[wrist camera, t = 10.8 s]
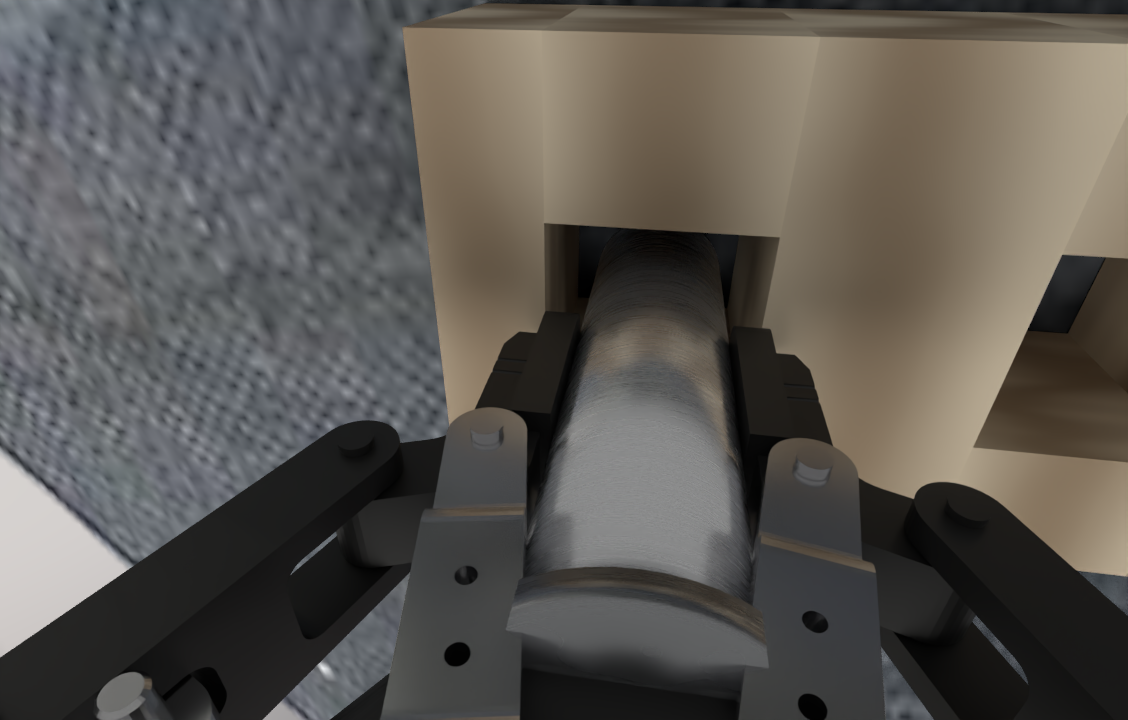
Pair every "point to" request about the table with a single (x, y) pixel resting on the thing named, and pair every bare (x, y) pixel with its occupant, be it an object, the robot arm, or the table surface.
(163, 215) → the table surface
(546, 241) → the hole block
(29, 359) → the table surface
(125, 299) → the table surface
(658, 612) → the clevis pin
